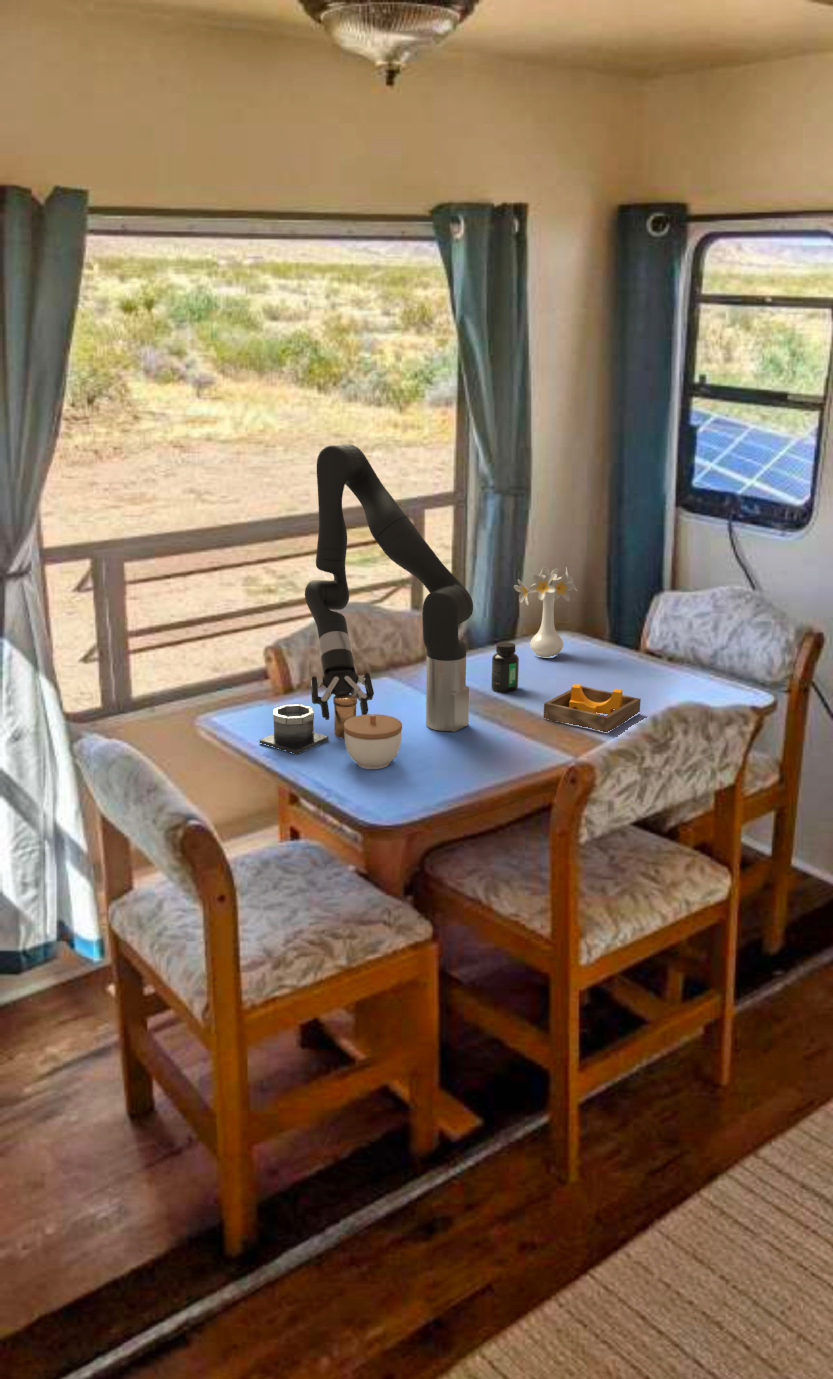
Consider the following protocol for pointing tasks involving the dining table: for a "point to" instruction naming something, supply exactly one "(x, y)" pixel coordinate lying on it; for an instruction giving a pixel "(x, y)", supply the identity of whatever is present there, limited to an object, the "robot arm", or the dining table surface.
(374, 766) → the lidded bowl
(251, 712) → the dining table surface
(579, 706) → the pipe clamp
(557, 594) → the flower vase
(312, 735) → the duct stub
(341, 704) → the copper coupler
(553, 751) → the dining table surface
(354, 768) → the dining table surface
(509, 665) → the supplement bottle
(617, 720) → the hardware corral
